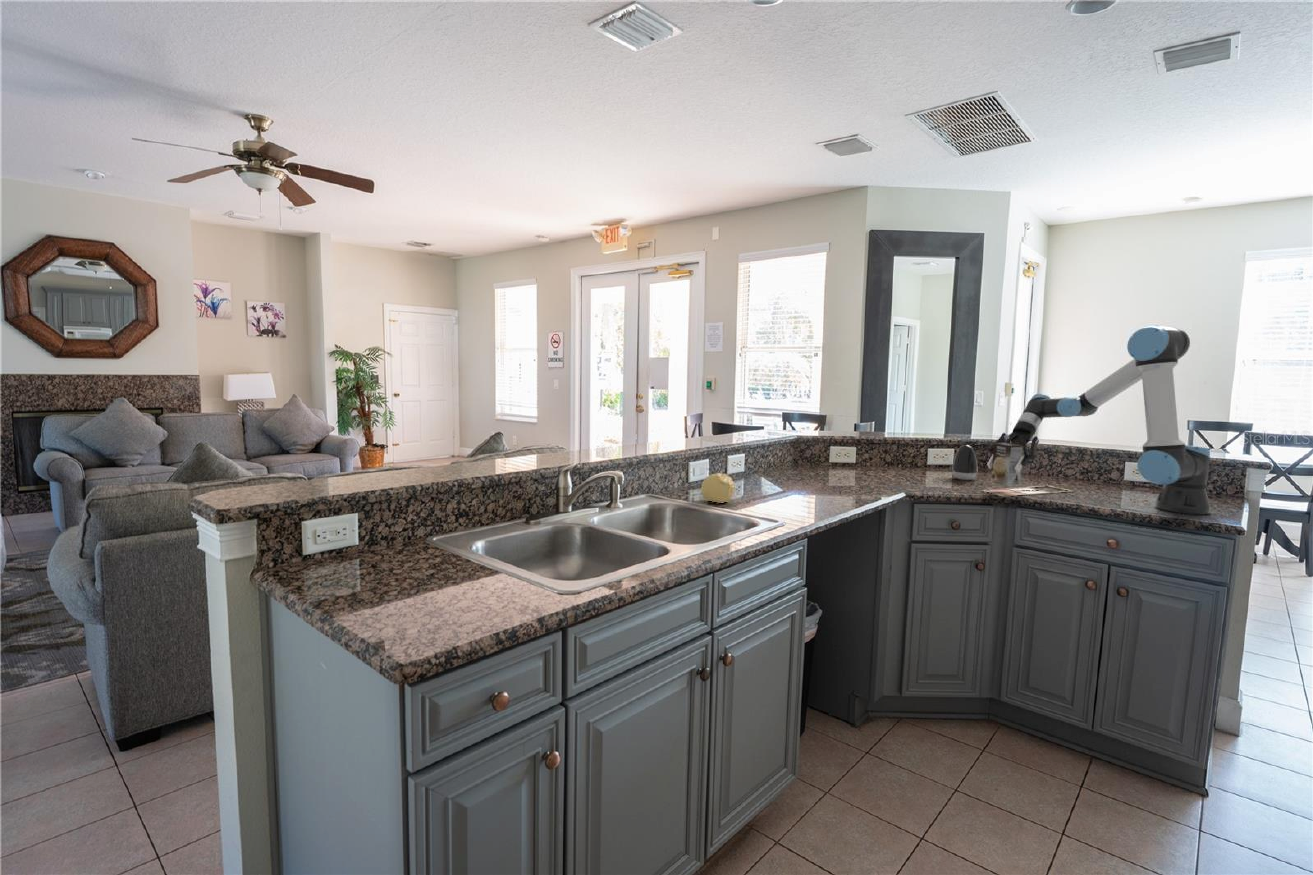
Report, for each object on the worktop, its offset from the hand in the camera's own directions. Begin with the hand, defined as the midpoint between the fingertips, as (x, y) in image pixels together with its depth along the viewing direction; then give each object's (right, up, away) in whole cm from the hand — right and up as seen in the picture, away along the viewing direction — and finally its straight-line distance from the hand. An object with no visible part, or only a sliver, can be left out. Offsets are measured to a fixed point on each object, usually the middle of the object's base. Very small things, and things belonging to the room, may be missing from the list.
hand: (1002, 468), depth 255 cm
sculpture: (-113, -11, -18) cm, 115 cm away
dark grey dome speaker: (0, -6, +33) cm, 34 cm away
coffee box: (+2, -6, +3) cm, 7 cm away
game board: (+13, -10, +6) cm, 18 cm away
